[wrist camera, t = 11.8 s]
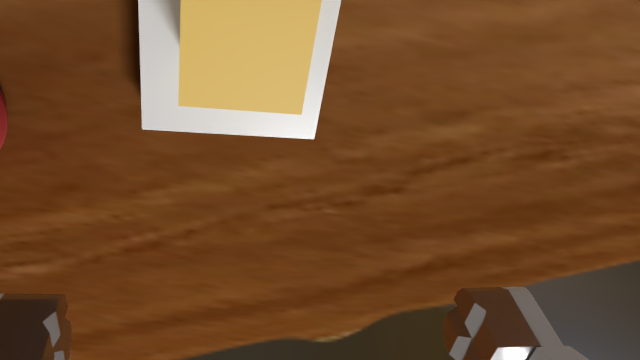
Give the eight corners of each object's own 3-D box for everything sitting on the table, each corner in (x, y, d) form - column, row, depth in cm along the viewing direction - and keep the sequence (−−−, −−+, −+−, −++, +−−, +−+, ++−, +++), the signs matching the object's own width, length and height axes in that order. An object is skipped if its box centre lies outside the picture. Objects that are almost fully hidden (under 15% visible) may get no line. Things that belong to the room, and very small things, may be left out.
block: (303, -42, 23) (322, -4, 19) (287, 63, 26) (301, 114, 22) (186, -59, 22) (181, -22, 18) (183, 53, 25) (178, 105, 21)
